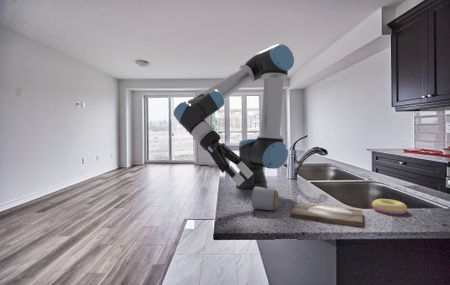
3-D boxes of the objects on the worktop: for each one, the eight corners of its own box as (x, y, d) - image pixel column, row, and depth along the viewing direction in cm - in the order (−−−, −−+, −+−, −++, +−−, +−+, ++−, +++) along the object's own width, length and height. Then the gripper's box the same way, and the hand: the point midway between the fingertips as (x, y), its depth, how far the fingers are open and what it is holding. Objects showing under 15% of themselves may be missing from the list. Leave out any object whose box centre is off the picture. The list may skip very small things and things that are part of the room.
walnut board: (298, 206, 91) (298, 202, 91) (362, 213, 82) (362, 209, 82) (289, 217, 80) (289, 213, 80) (362, 227, 70) (362, 222, 70)
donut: (388, 212, 90) (365, 210, 88) (388, 199, 91) (365, 197, 89) (414, 216, 81) (390, 214, 79) (414, 201, 81) (390, 199, 79)
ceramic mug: (275, 213, 84) (275, 190, 83) (251, 211, 86) (251, 188, 86) (280, 205, 93) (280, 184, 93) (258, 203, 96) (258, 183, 96)
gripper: (211, 142, 106) (247, 180, 102) (184, 145, 83) (228, 194, 79) (223, 129, 104) (260, 167, 100) (199, 128, 81) (245, 178, 77)
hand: (246, 179), depth 90 cm, fingers open, 13 cm apart
